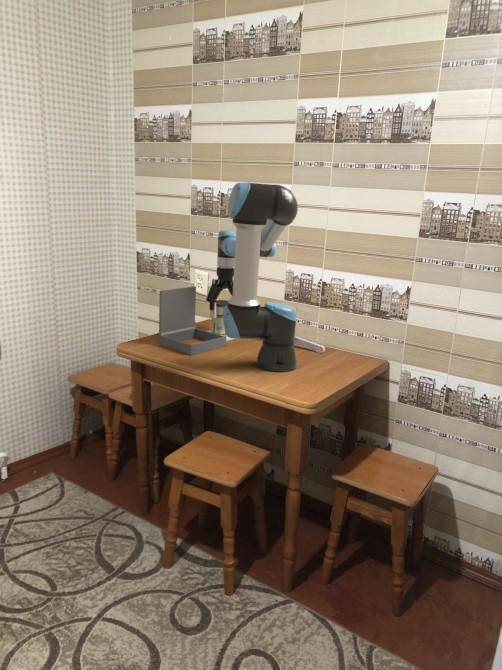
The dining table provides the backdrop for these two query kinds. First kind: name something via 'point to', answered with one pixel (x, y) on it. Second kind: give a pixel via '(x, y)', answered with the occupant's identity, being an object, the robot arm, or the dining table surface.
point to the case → (183, 323)
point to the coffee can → (219, 318)
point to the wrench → (308, 344)
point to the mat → (226, 336)
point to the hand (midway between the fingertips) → (223, 315)
